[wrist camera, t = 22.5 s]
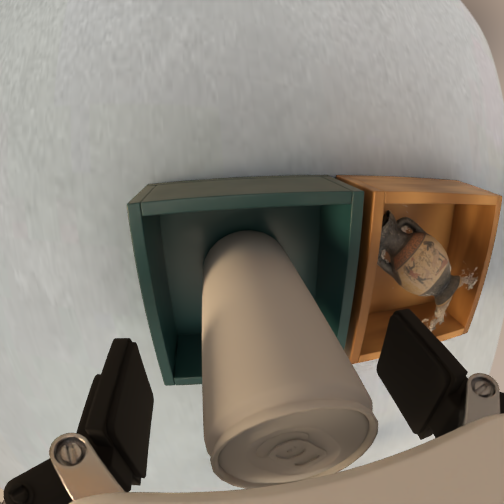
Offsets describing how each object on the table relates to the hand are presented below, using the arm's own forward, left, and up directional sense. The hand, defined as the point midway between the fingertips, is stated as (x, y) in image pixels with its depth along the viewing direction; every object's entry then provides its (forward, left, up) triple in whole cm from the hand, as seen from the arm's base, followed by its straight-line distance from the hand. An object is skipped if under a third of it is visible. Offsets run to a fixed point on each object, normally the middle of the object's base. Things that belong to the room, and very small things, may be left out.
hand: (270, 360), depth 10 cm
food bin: (-10, 0, -8) cm, 13 cm away
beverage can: (0, 0, -8) cm, 8 cm away
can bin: (0, 0, -8) cm, 8 cm away
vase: (-11, +2, -5) cm, 13 cm away
